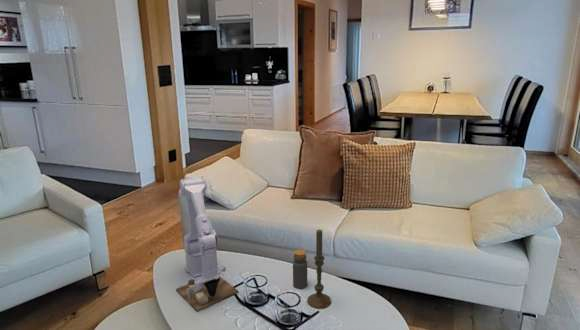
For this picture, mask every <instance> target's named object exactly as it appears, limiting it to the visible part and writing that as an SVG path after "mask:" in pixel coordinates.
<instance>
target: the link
mask: <svg viewBox="0 0 580 330" xmlns="http://www.w3.org/2000/svg"><path fill="white" fill-rule="evenodd" d="M187 281H188V282H187V284H188V288H190V287H193V286H195V285H194V282H195V281H196V280H195V279H193V278H192V279H189V280H187ZM194 293H195V298H196V300H197V301H198V302H199V304H200V305H202V304H205V303H208V297H207V296H206V295H205V294H204V292H203V291H202V290H200V291H197V292H194Z"/></svg>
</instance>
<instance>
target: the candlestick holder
mask: <svg viewBox="0 0 580 330" xmlns="http://www.w3.org/2000/svg"><path fill="white" fill-rule="evenodd" d="M315 233H316V234H315V235H316V236H315V237H316V242H315V243H316V245H315V249H316V250H315V252H316V255H315V256H314V257H313V260H314V265H315V266H316V284H315V285H314V290H315V293H312V294H310V295H308V297H307V300H306V303H307V304H308V306H310V307H312V308H313V309H319V310H320V309H326V308H329V306H330V305H331V304H332V300H331V297H330V296H329V295H327V294H326V293H323V291H324V284H322V274H323V272H322V270H323V268H322V266H324V264H325V263H324V260H325V256H324V255H323V230H322V229H317V230H316V231H315Z"/></svg>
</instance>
